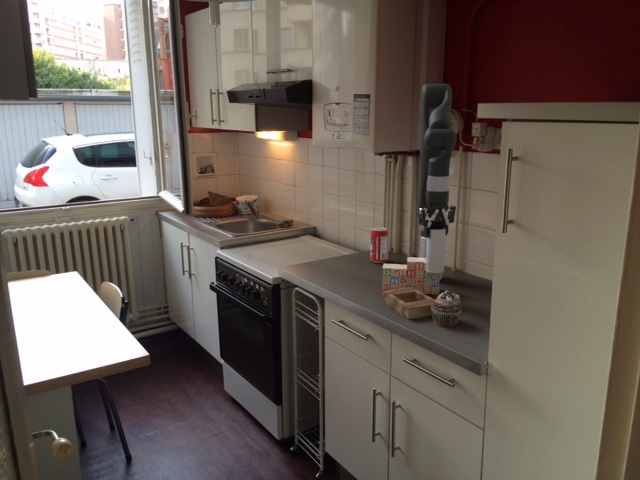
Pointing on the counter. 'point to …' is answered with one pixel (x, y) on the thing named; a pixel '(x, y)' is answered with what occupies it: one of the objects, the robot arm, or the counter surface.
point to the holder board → (408, 302)
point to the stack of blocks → (410, 277)
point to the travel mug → (436, 248)
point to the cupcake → (446, 309)
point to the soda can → (379, 245)
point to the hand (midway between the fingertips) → (436, 236)
